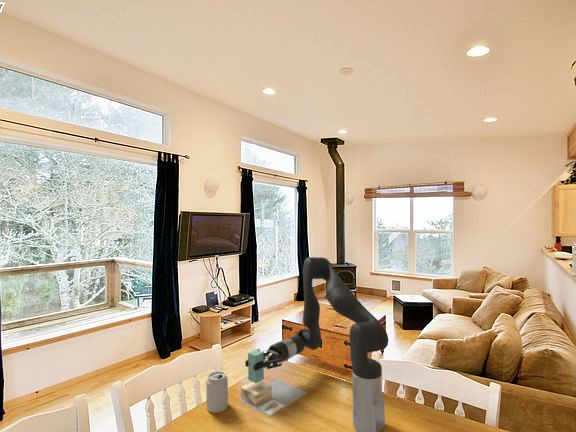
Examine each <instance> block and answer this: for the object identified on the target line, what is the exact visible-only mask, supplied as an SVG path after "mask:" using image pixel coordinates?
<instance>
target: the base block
mask: <svg viewBox="0 0 576 432" xmlns="http://www.w3.org/2000/svg"><path fill="white" fill-rule="evenodd" d="M271 397H272V386H270V385H268V383H266V382H264V381H263V380H261V381H259V382H257V383H254V382H252V381H250V382H249V383H246V384H245V385H241V387H240V398H242V399H244V400H245V401H247V402H249V403H251V404H252V405H254V406H257V405H259V404H260V403H262V402H264V401H266V400H267V399H269V398H271Z"/></svg>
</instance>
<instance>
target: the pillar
mask: <svg viewBox="0 0 576 432" xmlns="http://www.w3.org/2000/svg"><path fill="white" fill-rule="evenodd" d="M257 349H258V348H257ZM257 349H254V350H251V351H249V352H247V360H248V367H247V369H248V371H247V373H248V374H247V375H248V377H247V378H248V379H247V380H248V381H250V382H254V383H257V382H259V381H263V380H264V378H265V377H264V375H265V373H264V369H265V368H261V369H259V370H256V371H254V370H253V365H254V364H256V363H258V362H261V361H263V351H261V350H260V351H259V350H257Z"/></svg>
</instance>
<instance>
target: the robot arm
mask: <svg viewBox="0 0 576 432" xmlns="http://www.w3.org/2000/svg"><path fill="white" fill-rule="evenodd" d="M302 278H303V279H302V280H303V282H302V283H303V297H304V298H303V301H304V302H303V303H304V304H303V313H302V324H303V325H304V327H306V328H302V329H300V330H298V331H297V332H296V333H295V334H294V335H293V336H291V337H289V338H286V339H282V340H280V341H278V342H275V343H273V344H271V345H270V346H269V347H268V348H267V350H262V352H263V361H261V362H258V363H256V364H254V365H253V370H254V371H256V370H259V369H261V368H264V369H266V370H271V369H275V368H278V367H281V366H282V365H283V363H284V362H286V361H288V360H290V359H292V358H293V357H295V356H296V355H299V354H301V353H302V352H303V351H304V350H305V348H307V349H309V350H312V351H315V350H317V349H319V347H321V343H322V333H321V328H320V323H319V322H320V314H321V306H320V303H319V300H318V298H317V295H316V293H315V291H314V289H313V280H323V281H325V282H326V284H327V285H326V289H325V297H326V300H327V301H328V303H329V305H330V306H331V307H332V308H333V310H334V311H335V312H336V313H337V314H339V315H341V316H343V317H345V318H346V319H348V320H350V321H352V322H354V324H352V325H351V326H350V328H349V348H350V361H351V366H352V367H351V368H352V425H353V428H354V429H355V430H357V431H358V432H381V431H382V430H383V429H384V428H385V427H386V410H385V408H386V403H385V402H386V399H385V397H384V396H383V374H382V373H383V368H382V364H381V363H380V362H379V361H378V360H376V359H374V358H369V357H368V355H369V354H368V353H374V352H379V351H383V350H385V349H386V348H387V347H388V345H389V336H388V334H387V331H386V328H385V327H384V326H383V324H382V323H381V322H380V321H379V320H378V318H376V317H375V316H374V315H373V314H372V313H371V312H370V311H369V310H367V308H366V307H365V306H364V305H363V304H362V303H361V302H360V300H359V299H358V298H357V297H356V295H354V293H353V292H352V290H351V289H350V288H349V287H348V286H347V285H346V284H345V282H344V281H343V280H342V279H341V278H342V277H340V275H339V274H338V273H337V271H336V269H335V268H334V267H333V265H332V263H331V261H330V260H329V259H328V258H326V257H321V256H320V257H315V256H314V257H313V256H311V257H306V258H305V260H304V261H303V267H302ZM257 350H259V351H261V349H260V348H257ZM244 366H245V367H247V368H248V359H247V360H245V365H244Z"/></svg>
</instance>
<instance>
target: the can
mask: <svg viewBox="0 0 576 432" xmlns="http://www.w3.org/2000/svg"><path fill="white" fill-rule="evenodd" d="M228 380H229V378H228V376H227V375H226V372H223V371H214V372H211V373H209V374H208V375H207V378H206V380H205V384H206V385H205V388H206V389H205V396H206V410H207V411H208V412H210V413H213V414H214V413H220V412H224V411H225V410H227V408H228V407H229V385H228V384H229V383H228V382H229V381H228Z"/></svg>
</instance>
